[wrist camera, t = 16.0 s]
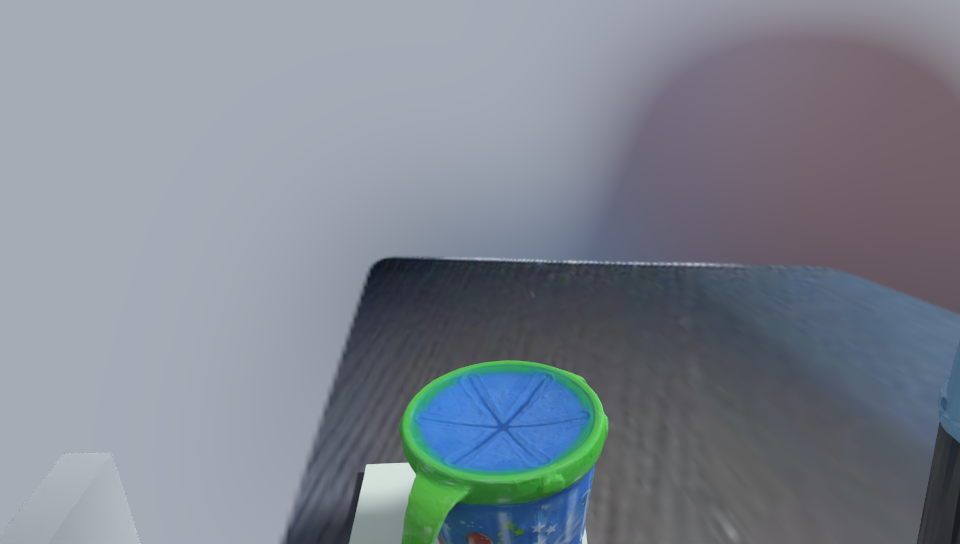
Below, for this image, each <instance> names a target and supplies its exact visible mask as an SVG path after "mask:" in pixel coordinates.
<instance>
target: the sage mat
mask: <svg viewBox="0 0 960 544" xmlns="http://www.w3.org/2000/svg"><path fill="white" fill-rule="evenodd" d="M415 477H416V474H415V472H414V471H413V469H412V468H411V466H410V464H409V463H391V464H367V465H366V469H365V474H364V478H363V483H362V487H361V492H360V496H359V501H358V505H357V510H356V514H355V519H354V523H353V527H352V532H351V536H350V541H349V544H401V543H402V535H403V526H404V518H405V513H406V509H407V505H408V499H409V494H410V492H411V489H412V485H413V483H414V480H415ZM434 544H439V541H438V538H436V539H435V542H434ZM582 544H587V538H586V529H584V534H583V537H582Z"/></svg>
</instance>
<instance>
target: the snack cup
mask: <svg viewBox="0 0 960 544" xmlns="http://www.w3.org/2000/svg"><path fill="white" fill-rule="evenodd" d="M399 433H400V436H401V438H402V442H403V448H404V452H405V455H406V458H407V461H408V462H409V464H410V466H411V468H412V469H413V471H414V472H415V474H416V477H415V480H414V483H413V485H412V489H411V492H410V494H409V499H408V505H407V509H406V513H405V518H404V526H403V535H402V543H401V544H434V542H435V539H436V538H438V541H439V544H582V537H583V534H584V529H585V523H586V516H587V511H588V505H589V498H590V493H591V488H592V481H593V476H594V467H595V463H596V461H597V459H598V458H599V456H600V454H601V451H602V448H603V444H604V442H605V440H606V438H607V434H608V418H607V416H606V415H605V414H604V412H603V408H602V404H601V402H600V400H599V398H598V397H597V395H596V393H595V392H594V391H593V390H592V389H591V388H590V387H589V386H588V385H587V383H586V381H585V379H583V378H582V377H580V376H578V375H575V374H573V373H570V372H567V371H563V370H560V369H558V368H555V367H551V366H548V365H544V364H539V363H533V362H525V361H495V362H487V363H480V364H476V365H471V366H467V367H464V368H460V369H457V370H455V371H452V372H450V373H447V374H445V375H443V376H441V377H439V378H437V379H435V380H434V381H432V382H431V383H429V384H428V385H427V386H425V387H424V388H423V389H422V390H421V391H419V392H418V393H417V394H416V395H415V396H414V398H413V399H412V400H411V402H410V403H409V405H408V407H407V408H406V410H405V413H404V415H403V417H402V419H401V421H400V425H399Z"/></svg>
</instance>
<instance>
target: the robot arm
mask: <svg viewBox="0 0 960 544" xmlns="http://www.w3.org/2000/svg"><path fill="white" fill-rule="evenodd" d="M938 406H939V419H940V423H939V428H938V434H937V439H936V444H935V450H934V455H933V460H932V466H931V471H930V477H929V482H928V487H927V493H926V498H925V503H924V509H923V514H922V519H921V525H920V530H919V535H918V541H917V544H960V341H959V345H958V348H957V352H956V356H955V359H954V363H953V366H952V370H951V373H950V377H949V378H948V379H947V381H946V382H945V384H944V385H943V387H942V389H941V392H940V395H939V399H938ZM0 544H140V541H139V537H138V534H137V531H136V528H135V525H134V522H133V518H132V515H131V512H130V509H129V506H128V503H127V499H126V497H125V493H124V490H123V487H122V483H121V480H120V477H119V474H118V471H117V468H116V464H115V461H114V458H113V455H112V453H70V454H69V453H64V454H63V455H62V456H61V458H60V459H59V461H58V462H57V463H56V464H55V466H54V467H53V468H52V469H51V471H50V472H49V473H48V474H47V476H46V477H45V478H44V480H43V481H42V482H41V484H40V485H39V486H38V487H37V489H36V490H35V491H34V492H33V494H32V495H31V496H30V498H29V499H28V500H27V501H26V503H25V504H24V505H23V507H22V508H21V509H20V510H19V512H18V513H17V514H16V516H15V517H14V518H13V520H12V521H11V522H10V523H9V525H8V526H7V527H6V529H5V530H4V531H3V532H2V534H1V535H0Z"/></svg>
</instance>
